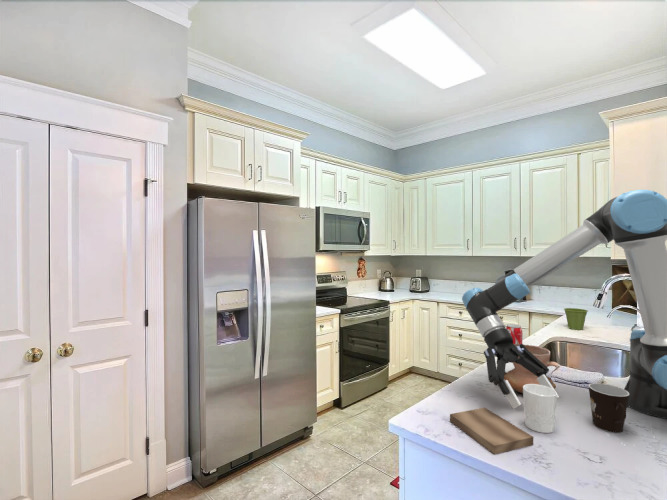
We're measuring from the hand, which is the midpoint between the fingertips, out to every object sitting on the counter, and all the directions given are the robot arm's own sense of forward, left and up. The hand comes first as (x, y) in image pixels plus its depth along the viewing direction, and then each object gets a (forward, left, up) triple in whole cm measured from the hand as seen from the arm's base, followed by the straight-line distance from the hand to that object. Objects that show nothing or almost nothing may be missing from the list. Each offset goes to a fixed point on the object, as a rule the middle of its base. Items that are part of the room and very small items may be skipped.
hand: (536, 402), depth 93 cm
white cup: (-1, 0, -7) cm, 7 cm away
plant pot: (-120, -76, -7) cm, 142 cm away
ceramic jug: (-18, -19, -7) cm, 26 cm away
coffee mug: (-17, +7, -7) cm, 20 cm away
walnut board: (+14, -2, -6) cm, 16 cm away
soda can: (-48, -53, -7) cm, 71 cm away
